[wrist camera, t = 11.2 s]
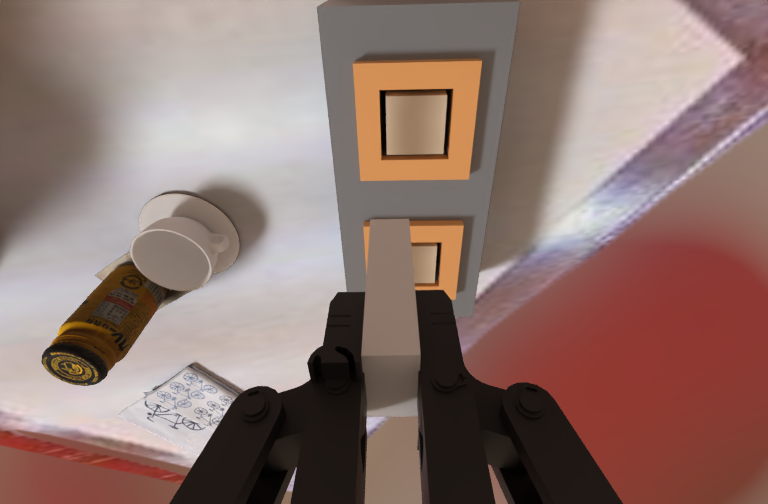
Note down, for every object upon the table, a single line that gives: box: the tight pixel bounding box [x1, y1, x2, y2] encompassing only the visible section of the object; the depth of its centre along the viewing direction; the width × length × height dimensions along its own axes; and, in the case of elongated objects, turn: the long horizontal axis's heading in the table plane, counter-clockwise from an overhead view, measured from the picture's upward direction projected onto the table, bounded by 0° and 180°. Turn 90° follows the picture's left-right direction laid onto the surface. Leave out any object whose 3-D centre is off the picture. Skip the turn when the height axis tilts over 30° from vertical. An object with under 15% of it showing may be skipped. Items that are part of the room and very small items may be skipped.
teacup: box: [130, 193, 240, 291], centre depth 39 cm, size 10×10×5 cm
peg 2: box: [411, 242, 437, 283], centre depth 37 cm, size 4×4×7 cm
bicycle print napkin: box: [118, 366, 240, 457], centre depth 61 cm, size 19×20×2 cm
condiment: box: [42, 251, 192, 386], centre depth 40 cm, size 7×8×12 cm
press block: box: [317, 0, 520, 317], centre depth 33 cm, size 12×26×7 cm, turn 1°
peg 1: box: [386, 89, 447, 155], centre depth 30 cm, size 4×4×7 cm
